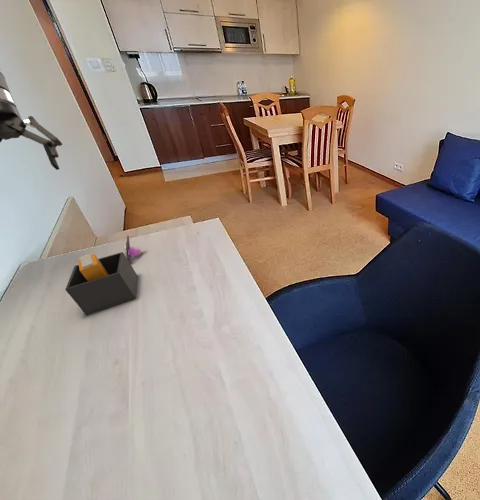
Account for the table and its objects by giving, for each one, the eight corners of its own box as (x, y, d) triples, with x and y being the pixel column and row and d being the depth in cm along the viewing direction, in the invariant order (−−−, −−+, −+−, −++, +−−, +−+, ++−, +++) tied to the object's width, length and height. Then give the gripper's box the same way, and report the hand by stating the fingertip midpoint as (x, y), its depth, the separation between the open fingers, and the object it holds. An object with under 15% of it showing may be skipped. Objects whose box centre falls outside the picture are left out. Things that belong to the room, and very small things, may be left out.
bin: (86, 315, 84) (65, 289, 78) (93, 290, 93) (74, 265, 87) (135, 298, 88) (119, 272, 83) (137, 276, 97) (122, 251, 92)
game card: (124, 235, 106) (123, 247, 100) (142, 235, 109) (142, 246, 102) (126, 252, 109) (125, 264, 102) (143, 251, 112) (143, 263, 105)
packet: (104, 303, 86) (78, 268, 79) (101, 291, 91) (76, 258, 84) (120, 296, 88) (96, 262, 81) (116, 285, 93) (93, 251, 86)
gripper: (59, 109, 94) (85, 168, 92) (-52, 125, 83) (-26, 192, 81) (46, 91, 87) (73, 155, 85) (-78, 106, 76) (-50, 179, 74)
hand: (25, 173), depth 83 cm, fingers open, 13 cm apart
